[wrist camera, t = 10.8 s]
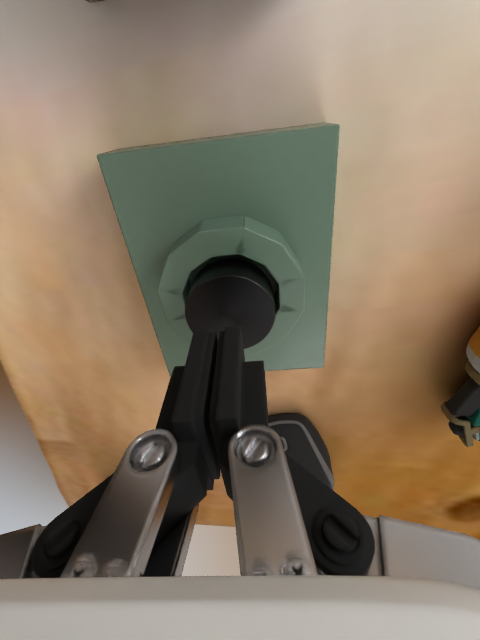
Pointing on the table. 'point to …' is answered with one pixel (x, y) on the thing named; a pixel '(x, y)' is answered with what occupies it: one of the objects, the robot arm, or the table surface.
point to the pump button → (232, 300)
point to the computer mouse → (303, 444)
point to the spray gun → (467, 398)
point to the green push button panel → (233, 228)
